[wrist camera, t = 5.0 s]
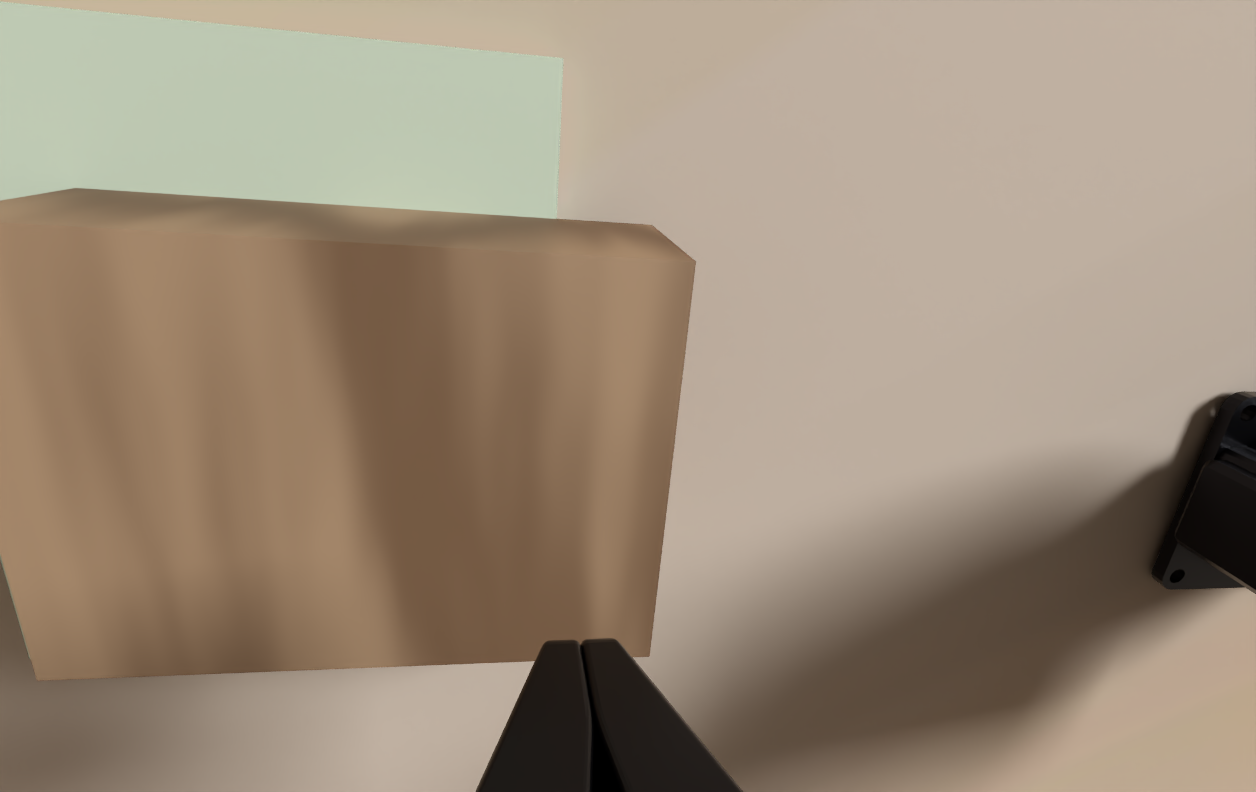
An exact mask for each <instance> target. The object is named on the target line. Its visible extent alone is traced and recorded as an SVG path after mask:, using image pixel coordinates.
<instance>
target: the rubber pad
mask: <svg viewBox="0 0 1256 792" xmlns="http://www.w3.org/2000/svg"><path fill="white" fill-rule="evenodd" d="M562 79H563V58H556V57H546V56H536V55H526V54H517V53H507V52H497V51H487V50H477V49H467V48H457V47H447V46H437V45H427V44H417V43H407V42H397V41H387V40H377V39H367V38H357V37H347V36H337V35H327V34H317V33H307V32H297V31H287V30H277V29H267V28H257V27H247V26H237V25H227V24H217V23H207V22H197V21H187V20H178V19H168V18H158V17H148V16H138V15H128V14H118V13H108V12H98V11H88V10H78V9H68V8H58V7H48V6H38V5H28V4H18V3H8V2H0V201H1V200H7V199H13V198H19V197H25V196H31V195H36V194H42V193H48V192H54V191H60V190H66V189H72V188H85V189H101V190H116V191H132V192H147V193H163V194H178V195H194V196H209V197H225V198H240V199H256V200H271V201H287V202H302V203H318V204H333V205H349V206H364V207H380V208H395V209H411V210H426V211H442V212H457V213H473V214H488V215H504V216H519V217H535V218H550V219H557V198H558V174H559V150H560V127H561V103H562ZM0 561H1V564H2V567H3V571H4V574H5V578H6V581H7V585H8V588H9V591H10V595H11V598H12V602H13V605H14V608H15V612H16V615H17V619H18V622H19V626H20V629H21V632H22V636H23V639H24V643H25V646H26V649H27V653H28V656H29V659H30V655H29V652H28V648H27V645H26V641H25V638H24V635H23V631H22V628H21V624H20V621H19V617H18V614H17V610H16V607H15V603H14V600H13V596H12V593H11V589H10V586H9V583H8V579H7V576H6V572H5V569H4V565H3V562H2V558H1V555H0Z"/></svg>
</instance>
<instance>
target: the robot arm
mask: <svg viewBox="0 0 1256 792" xmlns="http://www.w3.org/2000/svg"><path fill="white" fill-rule="evenodd" d="M1152 577H1153V579H1154V580H1156V581H1157V582H1158V583H1160V584H1161V585H1162V586H1164V587H1165V588H1167V589H1205V588H1239V587H1246V588H1247V589H1249V590H1250V591H1252V592H1253V593H1255V594H1256V392H1237V393H1235V394H1233V395H1231V396H1229V397H1228V398H1227V399H1226V400H1225V401H1224V403H1223V404H1222V406H1221V408H1220V410H1219V413H1218V415H1217V417H1216V420H1215V422H1214V424H1213V427H1212V429H1211V432H1210V434H1209V436H1208V439H1207V441H1206V443H1205V446H1204V448H1203V450H1202V453H1201V455H1200V458H1199V460H1198V462H1197V465H1196V467H1195V469H1194V472H1193V474H1192V477H1191V479H1190V481H1189V484H1188V486H1187V488H1186V491H1185V493H1184V496H1183V498H1182V500H1181V503H1180V505H1179V507H1178V510H1177V512H1176V515H1175V517H1174V519H1173V522H1172V524H1171V526H1170V529H1169V531H1168V534H1167V536H1166V538H1165V541H1164V543H1163V545H1162V548H1161V550H1160V553H1159V555H1158V557H1157V560H1156V562H1155V564H1154V567H1153V569H1152ZM476 792H743V791H742V790H741V789H740V787H739V786H738V785H737V784H736V783H735V781H734V780H733V779H732V778H731V776H730V775H729V774H728V773H727V772H726V770H725V769H724V768H723V767H722V766H721V764H720V763H719V762H718V761H717V760H716V758H715V757H714V756H713V755H712V753H711V752H710V751H709V750H708V749H707V747H706V746H705V745H704V744H703V743H702V741H701V740H700V739H699V738H698V737H697V735H696V734H695V733H694V732H693V731H692V729H691V728H690V727H689V726H688V724H687V723H686V722H685V721H684V720H683V718H682V717H681V716H680V715H679V714H678V712H677V711H676V710H675V709H674V708H673V706H672V705H671V704H670V703H669V701H668V700H667V699H666V698H665V697H664V695H663V694H662V693H661V692H660V691H659V689H658V688H657V687H656V686H655V685H654V683H653V682H652V681H651V680H650V679H649V677H648V676H647V675H646V674H645V672H644V671H643V670H642V669H641V668H640V666H639V665H638V664H637V663H636V662H635V660H634V659H633V658H632V657H631V656H630V654H629V653H628V652H627V651H626V649H625V648H624V647H623V646H622V645H621V643H620V642H619V641H618V640H616V639H614V638H599V639H585V640H584V641H582V643H581V645H580V643H579V642H578V641H577V640H574V639H573V640H549V641H546V642H545V643H544V644H543V645H542V647H541V649H540V651H539V654H538V656H537V658H536V660H535V662H534V665H533V667H532V669H531V671H530V673H529V676H528V678H527V680H526V682H525V684H524V686H523V689H522V691H521V693H520V695H519V697H518V700H517V702H516V704H515V706H514V708H513V711H512V713H511V715H510V717H509V719H508V722H507V724H506V726H505V728H504V730H503V733H502V735H501V737H500V739H499V741H498V743H497V746H496V748H495V750H494V752H493V754H492V757H491V759H490V761H489V763H488V765H487V768H486V770H485V772H484V774H483V776H482V779H481V781H480V783H479V785H478V787H477V789H476Z"/></svg>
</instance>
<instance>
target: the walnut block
mask: <svg viewBox="0 0 1256 792" xmlns="http://www.w3.org/2000/svg"><path fill="white" fill-rule="evenodd" d="M695 265H696V261H695V260H693V259H692V258H691V257H690V256H689V255H687V254H686V253H685V252H684V251H683V250H681V249H680V248H679V247H678V246H677V245H675V244H674V243H673V242H672V241H671V240H669V239H668V238H667V237H666V236H664V235H663V234H662V233H661V232H660V231H658V230H657V229H656V228H655V227H654V226H652V225H643V224H628V223H612V222H597V221H581V220H566V219H550V218H535V217H519V216H504V215H488V214H473V213H457V212H442V211H426V210H411V209H395V208H380V207H364V206H349V205H333V204H318V203H302V202H287V201H271V200H256V199H240V198H225V197H209V196H194V195H178V194H163V193H147V192H132V191H116V190H101V189H85V188H72V189H66V190H60V191H54V192H48V193H42V194H36V195H31V196H25V197H19V198H13V199H7V200H1V201H0V555H1V558H2V562H3V565H4V569H5V572H6V576H7V579H8V583H9V586H10V589H11V593H12V596H13V600H14V603H15V607H16V610H17V614H18V617H19V621H20V624H21V628H22V631H23V635H24V638H25V641H26V645H27V648H28V652H29V655H30V659H31V662H32V666H33V669H34V673H35V676H36V680H37V681H44V680H69V679H94V678H120V677H145V676H170V675H195V674H221V673H246V672H271V671H296V670H322V669H347V668H372V667H397V666H423V665H448V664H473V663H498V662H524V661H535V660H536V658H537V656H538V654H539V651H540V649H541V647H542V645H543V644H544V643H545V642H546V641H549V640H573V639H574V640H577V641H578V642H579V643H580V645H581V643H582V641H584V640H585V639H599V638H614V639H616V640H618V641H619V642H620V643H621V645H622V646H623V647H624V648H625V649H626V651H627V652H628V653H629V654H630V656H631V657H649V656H650V647H651V639H652V630H653V622H654V613H655V605H656V596H657V588H658V579H659V571H660V562H661V554H662V545H663V537H664V528H665V520H666V511H667V503H668V494H669V486H670V477H671V469H672V460H673V452H674V443H675V435H676V426H677V418H678V409H679V401H680V392H681V384H682V375H683V367H684V358H685V350H686V341H687V333H688V324H689V316H690V307H691V299H692V290H693V282H694V273H695Z"/></svg>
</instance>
